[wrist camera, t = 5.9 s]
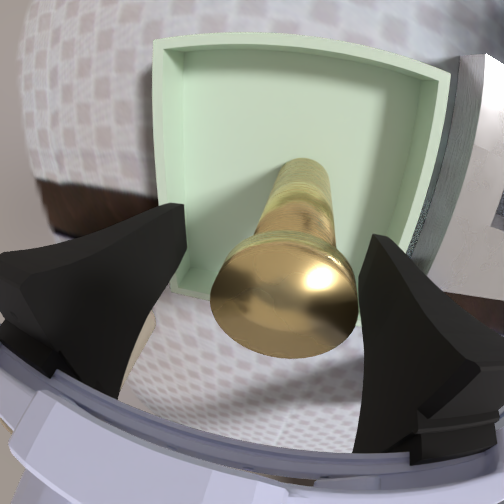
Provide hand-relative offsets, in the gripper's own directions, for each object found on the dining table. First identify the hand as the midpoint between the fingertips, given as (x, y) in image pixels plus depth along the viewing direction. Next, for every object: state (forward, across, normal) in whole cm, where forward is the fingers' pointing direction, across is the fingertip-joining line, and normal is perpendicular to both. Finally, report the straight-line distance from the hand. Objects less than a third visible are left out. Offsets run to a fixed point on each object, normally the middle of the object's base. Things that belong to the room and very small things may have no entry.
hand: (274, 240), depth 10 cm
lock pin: (+6, -1, 0) cm, 6 cm away
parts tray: (+7, 0, 0) cm, 7 cm away
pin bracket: (+7, -14, -3) cm, 16 cm away
